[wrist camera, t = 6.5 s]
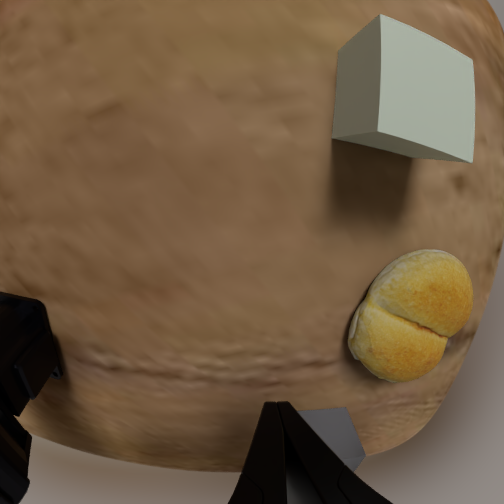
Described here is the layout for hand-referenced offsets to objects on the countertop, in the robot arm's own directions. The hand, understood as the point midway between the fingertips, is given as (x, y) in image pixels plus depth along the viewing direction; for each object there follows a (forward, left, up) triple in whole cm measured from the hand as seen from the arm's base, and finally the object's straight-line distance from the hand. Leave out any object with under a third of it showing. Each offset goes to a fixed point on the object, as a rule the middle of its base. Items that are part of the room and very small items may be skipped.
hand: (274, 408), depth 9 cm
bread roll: (+10, 0, -8) cm, 13 cm away
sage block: (+5, +12, -7) cm, 15 cm away
